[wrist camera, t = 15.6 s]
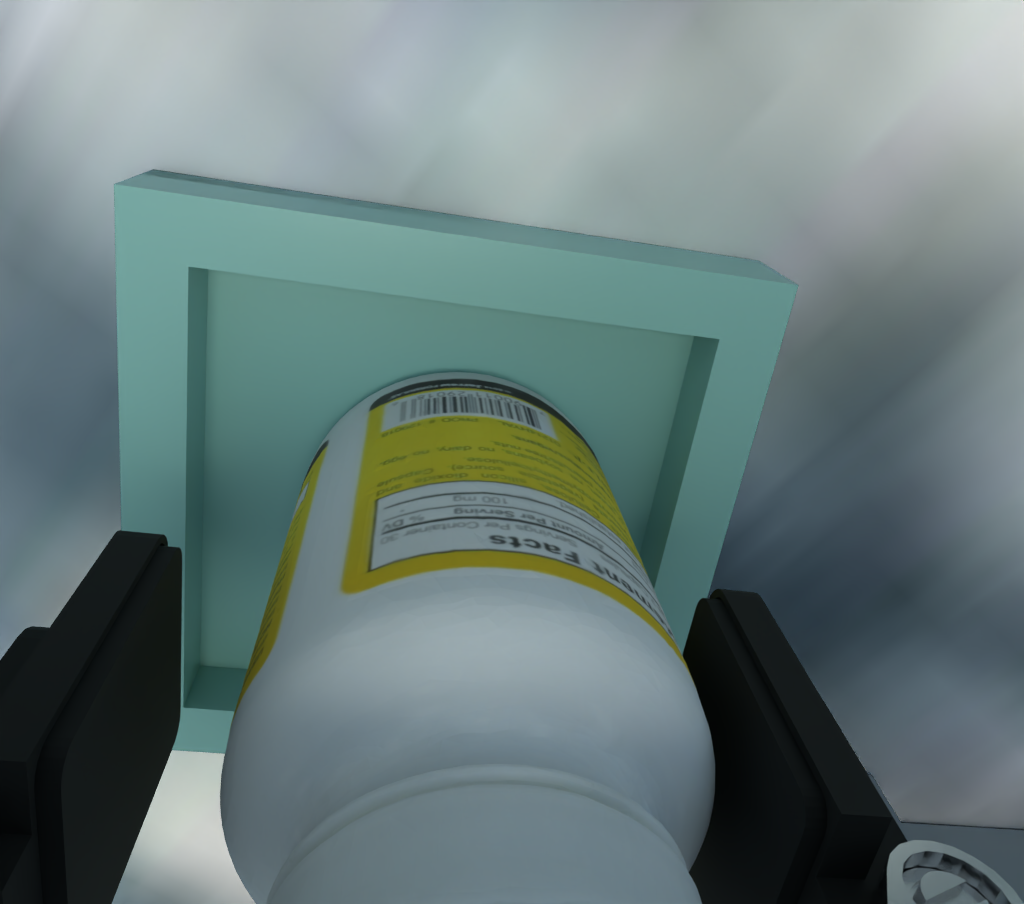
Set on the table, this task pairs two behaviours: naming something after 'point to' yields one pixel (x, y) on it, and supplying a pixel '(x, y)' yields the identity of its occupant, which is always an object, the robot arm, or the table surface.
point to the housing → (975, 845)
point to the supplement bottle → (464, 674)
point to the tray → (408, 377)
